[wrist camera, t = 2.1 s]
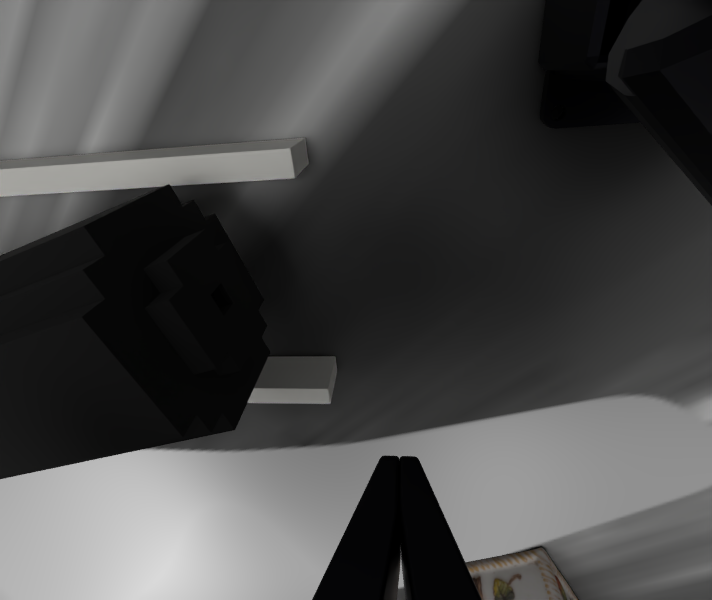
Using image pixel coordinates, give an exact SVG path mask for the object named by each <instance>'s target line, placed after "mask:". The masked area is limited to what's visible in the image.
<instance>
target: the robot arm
mask: <svg viewBox="0 0 712 600" xmlns="http://www.w3.org/2000/svg"><path fill="white" fill-rule="evenodd" d="M538 63H539V65H540V66H541V67H542V68H543V69H544V70H546V75H545V82H544V89H543V96H542V103H541V110H540V119H541V121H542V123H543V124H544V125H546V126H547V127H550V128H569V127H583V126H596V125H610V124H624V123H638V122H641V123H642V124H643V125H644V127H645V128H646V129H647V130H648V131H649V132H650V134H651V135H652V136H653V137H654V138H655V140H656V141H657V142H658V143H659V144H660V145H661V147H662V148H663V149H664V150H665V151H666V152H667V154H668V155H669V156H670V157H671V158H672V159H673V161H674V162H675V163H676V164H677V165H678V167H679V168H680V169H681V170H682V171H683V172H684V174H685V175H686V176H687V177H688V178H689V179H690V181H691V182H692V183H693V184H694V185H695V187H696V188H697V189H698V190H699V191H700V192H701V194H702V195H703V196H704V197H705V198H706V199H707V201H708V202H709V203H710V204H711V205H712V0H546V8H545V15H544V23H543V30H542V38H541V45H540V53H539V60H538ZM558 105H560V106H561V107H562V113H561V115H560V116H559V117H558V118H557V119H554V120H553V119H552V118H551V112H552V109H553V108H554V107H555V106H558ZM400 559H401V560H402V571H403V580H404V589H405V597H406V600H482V599H481V596H480V594H479V592H478V590H477V588H476V585H475V583H474V581H473V579H472V577H471V574H470V572H469V570H468V568H467V565H466V563H465V561H464V559H463V557H462V554H461V552H460V550H459V548H458V545H457V543H456V541H455V539H454V537H453V534H452V532H451V530H450V528H449V525H448V523H447V521H446V519H445V517H444V514H443V512H442V510H441V508H440V506H439V503H438V501H437V499H436V497H435V495H434V492H433V490H432V488H431V486H430V483H429V481H428V479H427V477H426V474H425V472H424V470H423V468H422V466H421V463H420V461H419V459H418V458H417V457H412V456H402V457H400V461H399V458H398V457H397V456H382V457H381V458H380V460H379V462H378V464H377V466H376V468H375V470H374V472H373V474H372V476H371V478H370V481H369V483H368V485H367V487H366V489H365V491H364V493H363V495H362V497H361V499H360V501H359V503H358V505H357V508H356V510H355V512H354V514H353V516H352V518H351V520H350V522H349V524H348V526H347V529H346V531H345V533H344V535H343V537H342V539H341V541H340V543H339V545H338V547H337V549H336V551H335V553H334V555H333V558H332V560H331V562H330V564H329V566H328V568H327V570H326V572H325V574H324V576H323V578H322V580H321V582H320V585H319V587H318V589H317V591H316V593H315V595H314V597H313V599H312V600H397V592H398V581H399V572H400Z"/></svg>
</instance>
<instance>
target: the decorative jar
mask: <svg viewBox="0 0 712 600" xmlns="http://www.w3.org/2000/svg"><path fill="white" fill-rule="evenodd" d="M466 565H467V568H468V570H469V572H470V574H471V577H472V579H473V581H474V583H475V585H476V588H477V590H478V592H479V594H480V596H481V599H482V600H578V599H577V597H576V596H575V595H574V593H573V591H572V590H571V588H570V586H569V585H568V584H567V582H566V581H565V579H564V578H563V576H562V575H561V573H560V572H559V571H558V569H557V568H556V566H555V565H554V563H553V562H552V560H551V558H550V557H549V555H548V554H547V552H546V551H545V550H544V549H543V548H537V549H533V550H529V551H523V552H519V553H513V554H506V555H502V556H497V557H492V558H486V559H481V560H476V561H471V562H466Z"/></svg>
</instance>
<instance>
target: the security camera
mask: <svg viewBox="0 0 712 600" xmlns="http://www.w3.org/2000/svg"><path fill="white" fill-rule="evenodd" d="M263 301H264V299H263V298H262V296H261V294H260V292H259V291H258V289H257V287H256V285H255V283H254V282H253V280H252V278H251V276H250V275H249V273H248V271H247V269H246V268H245V266H244V264H243V262H242V261H241V259H240V257H239V255H238V253H237V252H236V250H235V248H234V246H233V245H232V243H231V241H230V239H229V238H228V236H227V234H226V232H225V231H224V229H223V227H222V225H221V223H220V222H219V220H218V218H217V216H216V215H215V214H212V215H210V216H207V217H205V218H204V217H203V215H202V213H201V211H200V210H199V208H198V206H197V205H196V203H195V201H194V200H192V201H190V202H187V203H185V204H181V203H180V201H179V199H178V198H177V196H176V194H175V193H174V191H173V189H172V188H171V186H170V184H168V185H165V186H163V187H161V188H158V189H156V190H154V191H151V192H149V193H147V194H144V195H142V196H140V197H137V198H135V199H133V200H130V201H128V202H126V203H123V204H121V205H118V206H116V207H114V208H111V209H109V210H107V211H104V212H102V213H100V214H97V215H95V216H93V217H90V218H88V219H86V220H83V221H81V222H79V223H76V224H74V225H72V226H69V227H67V228H65V229H62V230H60V231H58V232H55V233H53V234H51V235H48V236H46V237H43V238H41V239H39V240H36V241H34V242H32V243H29V244H27V245H25V246H22V247H20V248H18V249H15V250H13V251H11V252H8V253H6V254H4V255H1V256H0V479H3V478H7V477H13V476H17V475H22V474H27V473H32V472H36V471H41V470H46V469H51V468H56V467H60V466H65V465H70V464H74V463H79V462H84V461H89V460H93V459H98V458H103V457H108V456H112V455H118V454H122V453H126V452H132V451H137V450H141V449H146V448H151V447H156V446H160V445H165V444H170V443H175V442H180V441H184V440H189V439H194V438H199V437H203V436H208V435H213V434H218V433H222V432H227V431H232V430H235V428H236V426H237V424H238V422H239V420H240V418H241V415H242V413H243V411H244V409H245V407H246V404H247V402H248V400H249V398H250V396H251V393H252V391H253V389H254V387H255V385H256V382H257V380H258V378H259V376H260V374H261V372H262V369H263V367H264V365H265V363H266V361H267V358H268V356H269V354H270V351H269V349H268V347H267V346H266V344H265V342H264V341H263V339H262V337H261V336H262V334H263V332H264V330H265V329H266V327H267V325H266V323H265V321H264V319H263V318H262V316H261V314H260V313H259V311H258V309H259V307H260V306H261V304H262V302H263Z"/></svg>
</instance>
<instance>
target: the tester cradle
mask: <svg viewBox="0 0 712 600" xmlns="http://www.w3.org/2000/svg"><path fill="white" fill-rule="evenodd" d="M308 164H309V160H308V153H307V146H306V138H293V139H279V140H266V141H253V142H240V143H227V144H213V145H200V146H187V147H174V148H160V149H147V150H134V151H121V152H107V153H94V154H81V155H68V156H54V157H41V158H28V159H15V160H1V161H0V197H4V196H20V195H36V194H52V193H68V192H84V191H100V190H116V189H132V188H148V187H163V186H165V185H168V184H170V186H180V185H196V184H212V183H228V182H244V181H260V180H276V179H292V178H296V177H297V176H298V175H299V174H300V173H301V171H302V170H303V169H304V168H305V167H306V166H307V165H308ZM336 375H337V364H336V357H335V356H271V357H268V358H267V361H266V363H265V365H264V367H263V369H262V372H261V374H260V376H259V378H258V380H257V382H256V385H255V387H254V389H253V391H252V393H251V396H250V398H249V400H248V402H247V403H291V404H331V399H332V394H333V389H334V385H335V380H336Z"/></svg>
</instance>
